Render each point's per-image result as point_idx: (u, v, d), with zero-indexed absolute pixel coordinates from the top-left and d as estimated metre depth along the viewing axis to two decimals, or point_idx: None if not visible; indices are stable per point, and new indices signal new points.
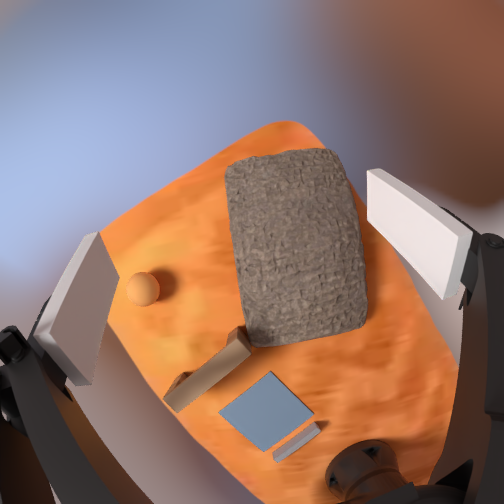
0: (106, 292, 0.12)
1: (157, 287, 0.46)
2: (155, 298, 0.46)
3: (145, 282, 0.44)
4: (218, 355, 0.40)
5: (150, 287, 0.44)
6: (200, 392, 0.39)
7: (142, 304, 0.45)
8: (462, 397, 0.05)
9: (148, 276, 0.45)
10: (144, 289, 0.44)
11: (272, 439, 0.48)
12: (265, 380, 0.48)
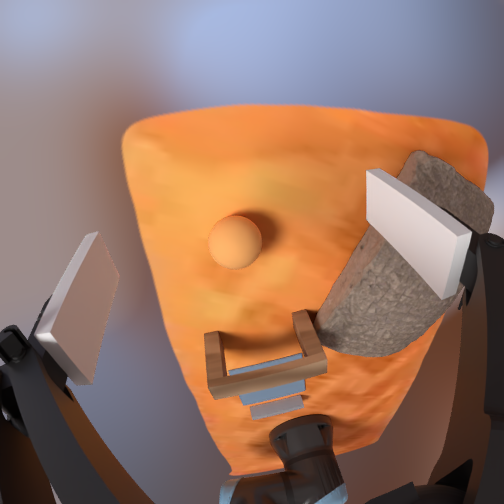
0: (106, 292, 0.12)
1: None
2: None
3: (254, 248, 0.29)
4: (299, 368, 0.34)
5: (256, 255, 0.30)
6: (254, 390, 0.35)
7: (228, 268, 0.31)
8: (462, 396, 0.05)
9: (258, 237, 0.30)
10: (248, 257, 0.29)
11: (259, 399, 0.52)
12: (291, 359, 0.47)
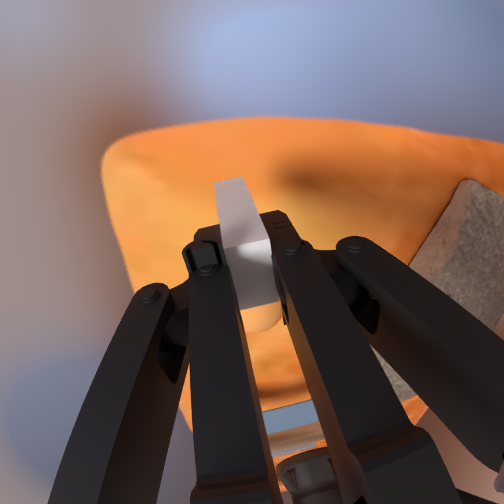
0: None
1: None
2: None
3: (279, 310, 0.22)
4: None
5: (280, 317, 0.23)
6: None
7: None
8: (325, 423, 0.06)
9: None
10: (271, 322, 0.22)
11: None
12: (307, 404, 0.40)
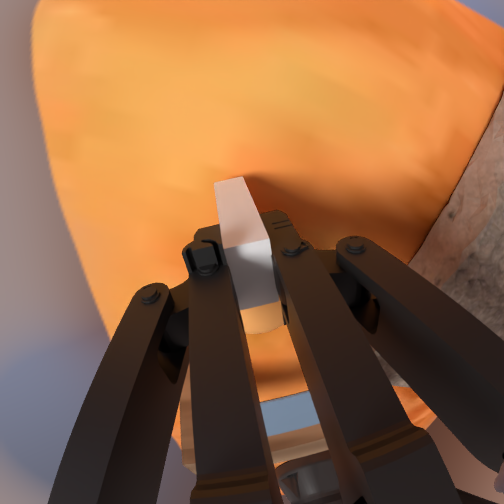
0: None
1: None
2: None
3: None
4: None
5: None
6: None
7: None
8: (324, 423, 0.06)
9: None
10: None
11: None
12: None
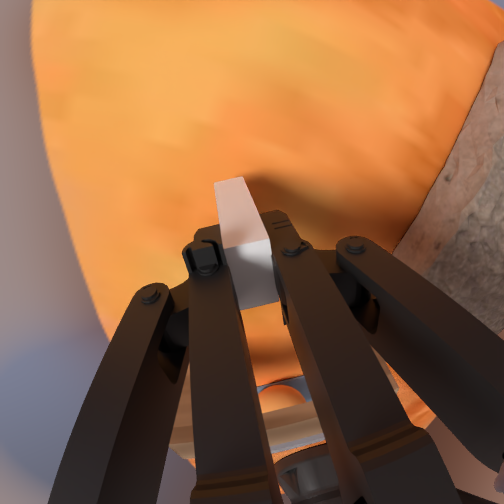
0: None
1: (298, 391, 0.27)
2: (282, 385, 0.27)
3: None
4: None
5: None
6: None
7: None
8: (325, 423, 0.06)
9: None
10: None
11: None
12: None
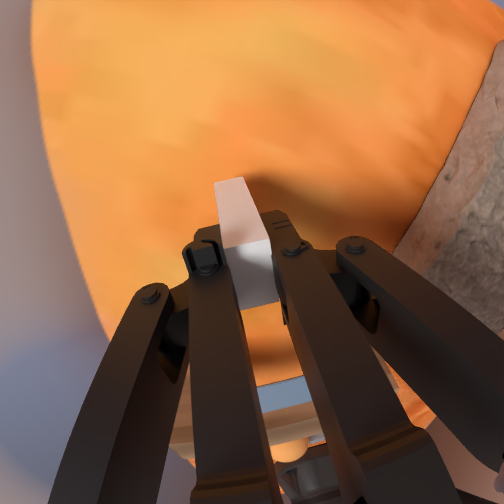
0: None
1: None
2: None
3: (303, 449, 0.30)
4: None
5: None
6: None
7: None
8: (325, 423, 0.06)
9: (307, 440, 0.30)
10: (298, 456, 0.29)
11: None
12: None
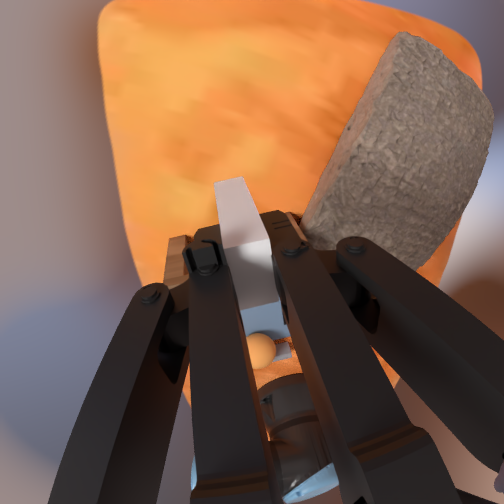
0: None
1: None
2: None
3: (270, 354, 0.42)
4: None
5: (272, 359, 0.43)
6: None
7: None
8: (324, 423, 0.06)
9: (273, 347, 0.43)
10: (266, 361, 0.42)
11: None
12: None
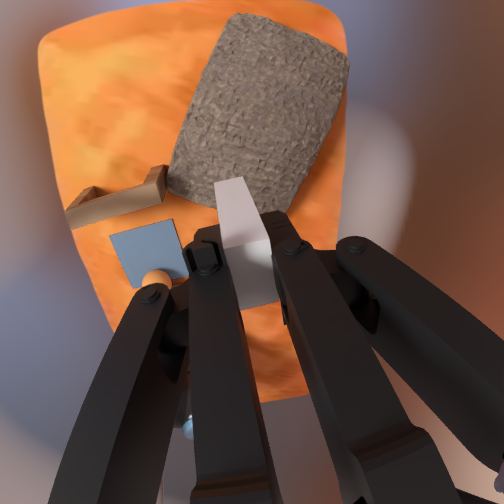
0: None
1: None
2: None
3: None
4: (131, 191, 0.37)
5: None
6: (100, 218, 0.38)
7: None
8: (324, 423, 0.06)
9: (167, 280, 0.52)
10: None
11: None
12: (163, 225, 0.50)
